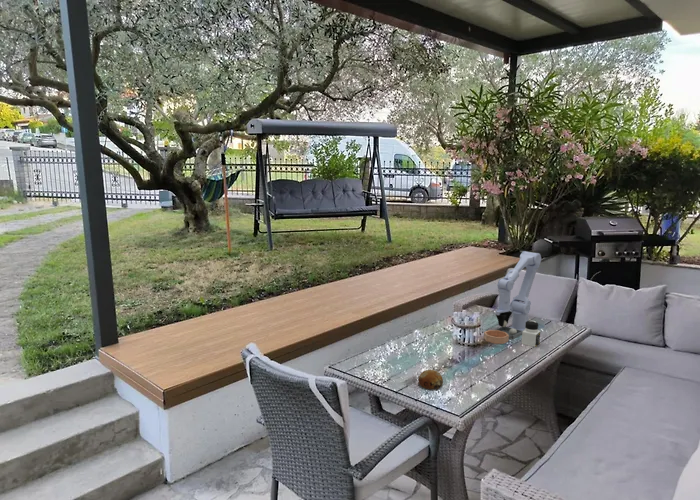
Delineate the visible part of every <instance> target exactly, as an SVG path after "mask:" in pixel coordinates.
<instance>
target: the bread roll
mask: <svg viewBox="0 0 700 500" xmlns="http://www.w3.org/2000/svg"><path fill="white" fill-rule="evenodd" d="M418 384H419V385H420V386H421V388H423V389H426V390H438V389H440V388H441V387H442V386H443V384H444V379H443V376H442V374H441V373H440V372H439V371H438V370H435V369H425V370H423V371H422V372H421V373H420V374H419V376H418Z"/></svg>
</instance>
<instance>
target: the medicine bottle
mask: <svg viewBox="0 0 700 500" xmlns="http://www.w3.org/2000/svg"><path fill="white" fill-rule="evenodd" d="M540 341H541V330H539V323H538V322H537V321H535V320H528V321H527V322H526V326H525V330H523V332H522V335H521V345H525V346H529V347H534V348H536V347H538V346H539V345H540Z"/></svg>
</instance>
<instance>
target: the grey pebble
mask: <svg viewBox="0 0 700 500" xmlns="http://www.w3.org/2000/svg"><path fill="white" fill-rule="evenodd" d="M509 333H510V335H512V336H513V335H515V334H517V330H516V329H514V328H511V329H510V330H509Z"/></svg>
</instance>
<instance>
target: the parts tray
mask: <svg viewBox="0 0 700 500" xmlns="http://www.w3.org/2000/svg"><path fill="white" fill-rule="evenodd" d="M510 327H511V326H506V327H501V326H499V327H498V328H495V329H494V330H499V331H503V332H506V333H507V334H508V335H509V340H512V341H513V340H515V339H517V338H519V337H522V332H523V331H524V330H523V331H521V330H517V329H516V330H517V334H515V335H513V336H512V335H510V333H509V330H510V329H511V328H510Z"/></svg>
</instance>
